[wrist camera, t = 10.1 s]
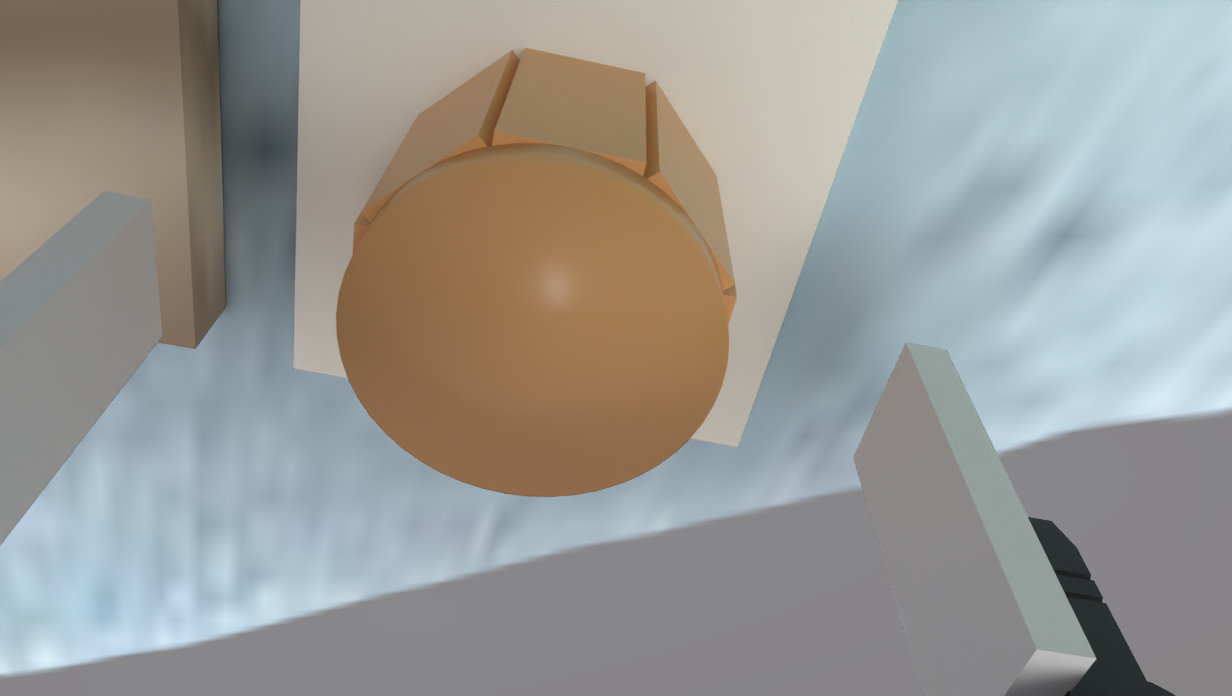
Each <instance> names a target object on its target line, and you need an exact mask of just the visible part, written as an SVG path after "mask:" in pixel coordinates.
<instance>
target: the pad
mask: <svg viewBox="0 0 1232 696" xmlns="http://www.w3.org/2000/svg"><path fill="white" fill-rule="evenodd" d="M897 2H898V0H300V49H299V102H298V154H297V207H296V259H295V312H294V364H293V369H298V370H304V371H309V372H315V373H321V374H326V375H332V376H338V377H343V378H347V375H346V372H345V369H344V366H343V363H342V360H341V357H340V352H339V346H338V341H337V332H336V310H337V302H338V294H339V290H340V287H341V283H342V280H343V277H344V273H345V270H346V268H347V266H348V264H349V262H350V260H351V258H352V255H353V237H354V223H355V222H356V220H357V218H358V216H359V215H360V213H361V211H362V209H363V208H364V206H365V204H366V203H367V201H368V199H369V198H370V196H371V194H372V192H373V191H374V189H375V187H376V186H377V184H378V182H379V180H380V179H381V177H382V175H383V174H384V172H385V170H386V169H387V167H388V165H389V163H390V162H391V160H392V158H393V157H394V155H395V153H396V151H397V150H398V148H399V146H400V145H401V143H402V141H403V140H404V138H405V136H406V134H407V133H408V131H409V129H410V128H411V126H412V124H413V122H414V121H415V119H416V117H417V116H418V115H419V114H420V113H422V112H423V111H424V110H426V109H427V108H429V107H430V106H432V105H433V104H435V103H436V102H437V101H439V100H440V99H442V98H443V97H445V96H446V95H448V94H449V93H451V92H452V91H453V90H455V89H456V88H458V87H459V86H461V85H462V84H464V83H465V82H467V81H468V80H469V79H471V78H472V77H474V76H475V75H477V74H478V73H480V72H481V71H483V70H484V69H485V68H487V67H488V66H490V65H491V64H493V63H494V62H496V61H497V60H499V59H500V58H501V57H503V56H504V55H506V54H507V53H509V52H510V51H512V50H513V52H514V53H515V54H516V56H517V57H518V59H519V60H521V57H522V54H523V52H524V49H525V48H530V49H534V50H539V51H544V52H548V53H553V54H558V55H562V56H567V57H572V58H576V59H581V60H586V61H591V62H595V63H600V64H605V65H609V66H614V67H619V68H623V69H628V70H633V71H638V72H642V73H645V86H648V85H650V84H651V83H653V82H654V81H657V83H658V85H659V86H660V88H661V89H662V91H663V92H664V94H665V96H666V97H667V99H668V100H669V102H670V103H671V105H672V107H673V108H674V110H675V111H676V113H677V114H678V116H679V118H680V119H681V121H682V122H683V124H684V125H685V127H686V129H687V130H688V132H689V133H690V135H691V136H692V138H693V140H694V141H695V143H696V144H697V146H698V147H699V149H700V151H701V152H702V154H703V155H704V157H705V158H706V160H707V162H708V163H709V165H710V166H711V168H712V169H713V171H714V173H715V174H716V176H717V181H718V187H719V192H720V198H721V204H722V210H723V216H724V222H725V227H726V233H727V239H728V245H729V251H730V256H731V262H732V268H733V274H734V280H735V288H736V294H737V299H736V302H735V305H734V308H733V311H732V315H731V318H730V321H729V324H728V330H729V353H728V365H727V369H726V373H725V377H724V381H723V385H722V387H721V390H720V392H719V394H718V397H717V399H716V402H715V404H714V406H713V407H712V409H711V411H710V412H709V414H708V416H707V417H706V419H705V421H704V422H703V424H702V425H701V426H700V427H699V428H698V430H697V431H696V432H695V433H694V435H693V436H692V437H691V438H690V439H694V440H700V441H705V442H711V443H717V444H722V445H728V446H734V447H738V446H739V443H740V440H741V437H742V435H743V432H744V429H745V426H746V423H747V421H748V418H749V415H750V412H751V409H752V407H753V404H754V401H755V398H756V395H757V393H758V390H759V387H760V384H761V382H762V379H763V376H764V373H765V370H766V368H767V365H768V362H769V359H770V356H771V354H772V351H773V348H774V345H775V343H776V340H777V337H778V334H779V331H780V329H781V326H782V323H783V320H784V317H785V315H786V312H787V309H788V306H789V303H790V301H791V298H792V295H793V292H794V290H795V287H796V284H797V281H798V278H799V276H800V273H801V270H802V267H803V264H804V262H805V259H806V256H807V253H808V251H809V248H810V245H811V242H812V239H813V237H814V234H815V231H816V228H817V225H818V223H819V220H820V217H821V214H822V211H823V209H824V206H825V203H826V200H827V198H828V195H829V192H830V189H831V186H832V184H833V181H834V178H835V175H836V172H837V170H838V167H839V164H840V161H841V158H842V156H843V153H844V150H845V147H846V145H847V142H848V139H849V136H850V133H851V131H852V128H853V125H854V122H855V119H856V117H857V114H858V111H859V108H860V106H861V103H862V100H863V97H864V94H865V92H866V89H867V86H868V83H869V80H870V78H871V75H872V72H873V69H874V66H875V64H876V61H877V58H878V55H879V53H880V50H881V47H882V44H883V41H884V39H885V36H886V33H887V30H888V27H889V25H890V22H891V19H892V16H893V13H894V11H895V8H896V5H897Z"/></svg>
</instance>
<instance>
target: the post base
mask: <svg viewBox="0 0 1232 696" xmlns="http://www.w3.org/2000/svg"><path fill="white" fill-rule="evenodd" d="M103 191H107V192H113V193H118V194H123V195H129V196H134V197H139V198H144V199H150V200H151V201H152V213H153V226H154V238H155V251H156V263H157V276H158V288H159V301H160V313H161V326H162V337H161V339H160V340H159V341H158V342H160V343H165V344H171V345H177V346H182V347H188V348H194V349H196V347H197V346H198V344H199V343H200V342H201V340H202V339H203V338H204V336H205V335H206V333H207V332H208V331H209V329H210V328H211V327H212V325H213V324H214V322H215V321H216V320H217V318H218V317H219V315H220V314H221V313H222V311H223V310H224V309H225V307H226V292H225V257H224V221H223V186H222V150H221V115H220V79H219V44H218V9H217V0H0V282H1V281H2V280H3V279H4V278H5V277H6V276H7V275H8V274H10V273H11V272H12V271H13V270H14V269H15V268H16V267H18V266H19V265H20V264H21V263H22V262H23V261H24V260H26V259H27V258H28V257H29V256H30V255H31V254H32V253H33V252H35V251H36V250H37V249H38V248H39V247H40V246H41V245H43V244H44V243H45V242H46V241H47V240H48V239H49V238H51V237H52V236H53V235H54V234H55V233H56V232H57V231H58V230H60V229H61V228H62V227H63V226H64V225H65V224H66V223H68V222H69V221H70V220H71V219H72V218H73V217H74V216H76V215H77V214H78V213H79V212H80V211H81V210H82V209H83V208H85V207H86V206H87V205H88V204H89V203H90V202H91V201H93V200H94V199H95V198H96V197H97V196H98V195H99V194H100V193H102V192H103Z"/></svg>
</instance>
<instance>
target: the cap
mask: <svg viewBox="0 0 1232 696" xmlns="http://www.w3.org/2000/svg"><path fill="white" fill-rule="evenodd" d="M736 299H737V294H736V288H735V280H734V274H733V268H732V262H731V256H730V251H729V245H728V239H727V233H726V227H725V222H724V216H723V210H722V204H721V198H720V192H719V187H718V181H717V176H716V174H715V173H714V171H713V169H712V168H711V166H710V165H709V163H708V162H707V160H706V158H705V157H704V155H703V154H702V152H701V151H700V149H699V147H698V146H697V144H696V143H695V141H694V140H693V138H692V136H691V135H690V133H689V132H688V130H687V129H686V127H685V125H684V124H683V122H682V121H681V119H680V118H679V116H678V114H677V113H676V111H675V110H674V108H673V107H672V105H671V103H670V102H669V100H668V99H667V97H666V96H665V94H664V92H663V91H662V89H661V88H660V86H659V85H658V83H657V81H654V82H653V83H651V84H650V85H648V86H645V73H642V72H638V71H633V70H628V69H623V68H619V67H614V66H609V65H605V64H600V63H595V62H591V61H586V60H581V59H576V58H572V57H567V56H562V55H558V54H553V53H548V52H544V51H539V50H534V49H530V48H525V49H524V52H523V54H522V57H521V60H519V59H518V57H517V56H516V54H515V53H514V52H513V50H512V51H510V52H509V53H507V54H506V55H504V56H503V57H501V58H500V59H499V60H497V61H496V62H494V63H493V64H491V65H490V66H488V67H487V68H485V69H484V70H483V71H481V72H480V73H478V74H477V75H475V76H474V77H472V78H471V79H469V80H468V81H467V82H465V83H464V84H462V85H461V86H459V87H458V88H456V89H455V90H453V91H452V92H451V93H449V94H448V95H446V96H445V97H443V98H442V99H440V100H439V101H437V102H436V103H435V104H433V105H432V106H430V107H429V108H427V109H426V110H424V111H423V112H422V113H420V114H419V115H418V116H417V117H416V119H415V121H414V122H413V124H412V126H411V128H410V129H409V131H408V133H407V134H406V136H405V138H404V140H403V141H402V143H401V145H400V146H399V148H398V150H397V151H396V153H395V155H394V157H393V158H392V160H391V162H390V163H389V165H388V167H387V169H386V170H385V172H384V174H383V175H382V177H381V179H380V180H379V182H378V184H377V186H376V187H375V189H374V191H373V192H372V194H371V196H370V198H369V199H368V201H367V203H366V204H365V206H364V208H363V209H362V211H361V213H360V215H359V216H358V218H357V220H356V222H355V223H354V237H353V255H352V258H351V260H350V262H349V264H348V266H347V268H346V270H345V273H344V277H343V280H342V283H341V287H340V290H339V294H338V302H337V310H336V332H337V341H338V346H339V352H340V357H341V360H342V363H343V366H344V369H345V372H346V375H347V378H348V380H349V382H350V384H351V386H352V388H353V390H354V392H355V394H356V396H357V398H358V399H359V400H360V402H361V403H362V405H363V406H364V408H365V409H366V411H367V412H368V414H369V415H370V416H371V418H372V419H373V420H374V421H375V422H376V423H377V424H378V425H379V427H380V428H381V429H382V430H383V431H384V432H385V433H386V434H387V435H388V436H389V437H390V438H391V439H392V440H394V441H395V442H396V443H397V444H398V445H399V446H400V447H401V448H403V449H404V450H405V451H407V452H408V453H410V454H411V455H412V456H414V457H415V458H417V459H418V460H419V461H421V462H423V463H425V464H426V465H428V466H430V467H432V468H433V469H435V470H437V471H439V472H441V473H443V474H445V475H447V476H450V477H452V478H454V479H457V480H459V481H461V482H464V483H467V484H470V485H473V486H476V487H480V488H483V489H487V490H491V491H496V492H501V493H505V494H513V495H522V496H536V497H556V496H569V495H577V494H583V493H588V492H594V491H598V490H602V489H605V488H609V487H612V486H615V485H619V484H621V483H623V482H626V481H628V480H631V479H633V478H636V477H638V476H640V475H642V474H643V473H645V472H647V471H649V470H651V469H652V468H654V467H656V466H658V465H659V464H660V463H662V462H663V461H665V460H666V459H667V458H669V457H670V456H672V455H673V454H674V453H675V452H677V451H678V450H679V449H680V448H681V447H682V446H683V445H684V444H685V443H686V442H687V441H688V440H689V439H690V438H691V437H692V436H693V435H694V433H695V432H696V431H697V430H698V428H699V427H700V426H701V425H702V424H703V422H704V421H705V419H706V417H707V416H708V414H709V412H710V411H711V409H712V407H713V406H714V404H715V402H716V399H717V397H718V394H719V392H720V390H721V387H722V385H723V381H724V377H725V373H726V369H727V365H728V353H729V330H728V324H729V321H730V318H731V315H732V311H733V308H734V305H735V302H736Z"/></svg>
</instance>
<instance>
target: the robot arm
mask: <svg viewBox="0 0 1232 696" xmlns="http://www.w3.org/2000/svg"><path fill="white" fill-rule="evenodd" d="M161 337H162V326H161V313H160V301H159V288H158V276H157V263H156V251H155V238H154V226H153V213H152V201H151V200H150V199H144V198H139V197H134V196H129V195H123V194H118V193H113V192H107V191H103V192H102V193H100V194H99V195H98V196H97V197H96V198H95V199H94V200H93V201H91V202H90V203H89V204H88V205H87V206H86V207H85V208H83V209H82V210H81V211H80V212H79V213H78V214H77V215H76V216H74V217H73V218H72V219H71V220H70V221H69V222H68V223H66V224H65V225H64V226H63V227H62V228H61V229H60V230H58V231H57V232H56V233H55V234H54V235H53V236H52V237H51V238H49V239H48V240H47V241H46V242H45V243H44V244H43V245H41V246H40V247H39V248H38V249H37V250H36V251H35V252H33V253H32V254H31V255H30V256H29V257H28V258H27V259H26V260H24V261H23V262H22V263H21V264H20V265H19V266H18V267H16V268H15V269H14V270H13V271H12V272H11V273H10V274H8V275H7V276H6V277H5V278H4V279H3V280H2V281H1V282H0V545H1V544H2V543H3V542H4V540H5V539H6V538H7V536H8V535H9V534H10V533H11V531H12V530H13V529H14V527H15V526H16V525H17V523H18V522H19V521H20V520H21V518H22V517H23V516H24V514H25V513H26V512H27V511H28V509H29V508H30V507H31V505H32V504H33V503H34V502H35V500H36V499H37V498H38V496H39V495H40V494H41V492H42V491H43V490H44V489H45V487H46V486H47V485H48V483H49V482H50V481H51V480H52V478H53V477H54V476H55V474H56V473H57V472H58V470H59V469H60V468H61V467H62V465H63V464H64V463H65V461H66V460H67V459H68V458H69V456H70V455H71V454H72V452H73V451H74V450H75V448H76V447H77V446H78V445H79V443H80V442H81V441H82V439H83V438H84V437H85V436H86V434H87V433H88V432H89V430H90V429H91V428H92V427H93V425H94V424H95V423H96V421H97V420H98V419H99V417H100V416H101V415H102V414H103V412H104V411H105V410H106V408H107V407H108V406H109V405H110V403H111V402H112V401H113V399H114V398H115V397H116V395H117V394H118V393H119V392H120V390H121V389H122V388H123V386H124V385H125V384H126V383H127V381H128V380H129V379H130V377H131V376H132V375H133V374H134V372H135V371H136V370H137V368H138V367H139V366H140V364H141V363H142V362H143V361H144V359H145V358H146V357H147V355H148V354H149V353H150V352H151V350H152V349H153V348H154V346H155V345H156V344H157V342H158V341H159V340H160V339H161ZM854 461H855V465H856V468H857V472H858V475H859V479H860V482H861V486H862V489H863V493H864V496H865V499H866V502H867V506H868V510H869V513H870V516H871V520H872V523H873V527H874V531H875V534H876V537H877V541H878V544H879V548H880V551H881V554H882V558H883V562H884V565H885V568H886V572H887V576H888V579H889V583H890V586H891V590H892V593H893V596H894V600H895V603H896V606H897V610H898V613H899V617H900V621H901V624H902V628H903V631H904V634H905V638H906V641H907V645H908V648H909V652H910V655H911V659H912V662H913V666H914V669H915V673H916V676H917V680H918V683H919V686H920V690H921V693H922V696H1175V695H1174V694H1172V693H1170V692H1169V691H1167V690H1165V689H1163V688H1161V687H1159V686H1157V685H1155V684H1153V683H1151V682H1147V680H1146V679H1145V677H1144V675H1143V673H1142V671H1141V669H1140V667H1139V665H1138V663H1137V662H1136V660H1135V658H1134V656H1133V654H1132V652H1131V650H1130V649H1129V646H1128V644H1127V642H1126V641H1125V639H1124V637H1123V635H1122V633H1121V631H1120V629H1119V627H1118V625H1117V623H1116V622H1115V620H1114V618H1113V616H1112V614H1111V612H1110V610H1109V608H1108V606H1107V605H1106V603H1103V602H1102V599H1103V597H1102V595H1101V593H1100V591H1099V589H1098V587H1097V585H1096V584H1095V582H1094V581H1093V580H1090V577H1091V574H1090V572H1089V570H1088V568H1087V566H1086V565H1085V563H1084V561H1083V559H1082V557H1081V555H1080V553H1079V551H1078V549H1077V548H1076V547H1075V545H1074V544H1073V543H1072V542H1071V541H1070V540H1069V539H1068V538H1067V537H1066V536H1065V535H1064V534H1063V533H1062V532H1061V531H1060V530H1059V529H1058V528H1057V527H1056V525H1054V523H1053V522H1052V521H1048V520H1042V519H1036V518H1030V517H1027V515H1026V513H1025V510H1024V508H1023V506H1022V504H1021V502H1020V500H1019V498H1018V496H1017V494H1016V492H1015V490H1014V488H1013V486H1012V484H1011V482H1010V479H1009V477H1008V475H1007V474H1006V471H1005V469H1004V467H1003V465H1002V463H1001V461H1000V459H999V457H998V455H997V453H996V451H995V449H994V447H993V444H992V442H991V440H990V438H989V436H988V434H987V432H986V430H985V428H984V426H983V424H982V422H981V420H980V418H979V416H978V414H977V411H976V409H975V407H974V405H973V403H972V401H971V399H970V397H969V395H968V393H967V391H966V389H965V387H964V385H963V383H962V381H961V379H960V376H959V374H958V372H957V370H956V368H955V366H954V364H953V362H952V360H951V358H950V356H949V354H948V352H947V350H943V349H938V348H933V347H927V346H922V345H917V344H912V343H906V344H905V346H904V348H903V350H902V353H901V355H900V357H899V359H898V361H897V364H896V366H895V368H894V370H893V372H892V374H891V377H890V379H889V381H888V383H887V385H886V388H885V390H884V392H883V394H882V396H881V399H880V401H879V403H878V405H877V407H876V409H875V412H874V414H873V416H872V418H871V420H870V423H869V425H868V427H867V429H866V431H865V433H864V436H863V438H862V440H861V442H860V444H859V447H858V449H857V451H856V453H855V455H854Z"/></svg>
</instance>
